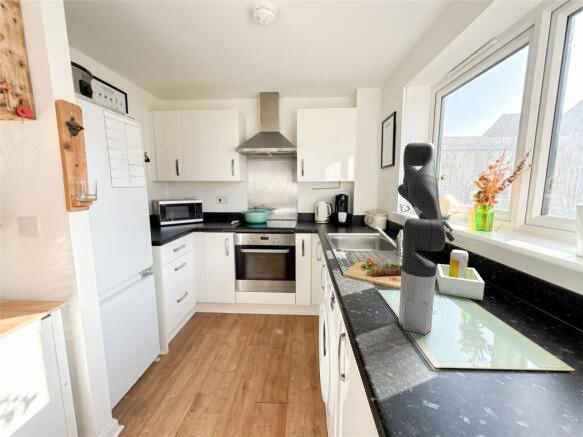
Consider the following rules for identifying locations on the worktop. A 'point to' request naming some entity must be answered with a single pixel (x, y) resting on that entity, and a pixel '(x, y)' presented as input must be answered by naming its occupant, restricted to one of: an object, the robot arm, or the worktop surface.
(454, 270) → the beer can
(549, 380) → the worktop surface
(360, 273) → the cutting board
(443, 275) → the bin
